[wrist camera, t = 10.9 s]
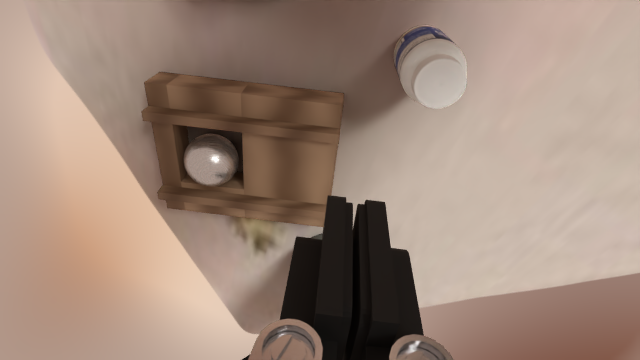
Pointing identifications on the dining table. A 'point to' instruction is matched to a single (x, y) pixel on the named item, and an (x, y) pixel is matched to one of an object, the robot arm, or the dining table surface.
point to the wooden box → (248, 145)
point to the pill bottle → (430, 67)
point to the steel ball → (211, 159)
